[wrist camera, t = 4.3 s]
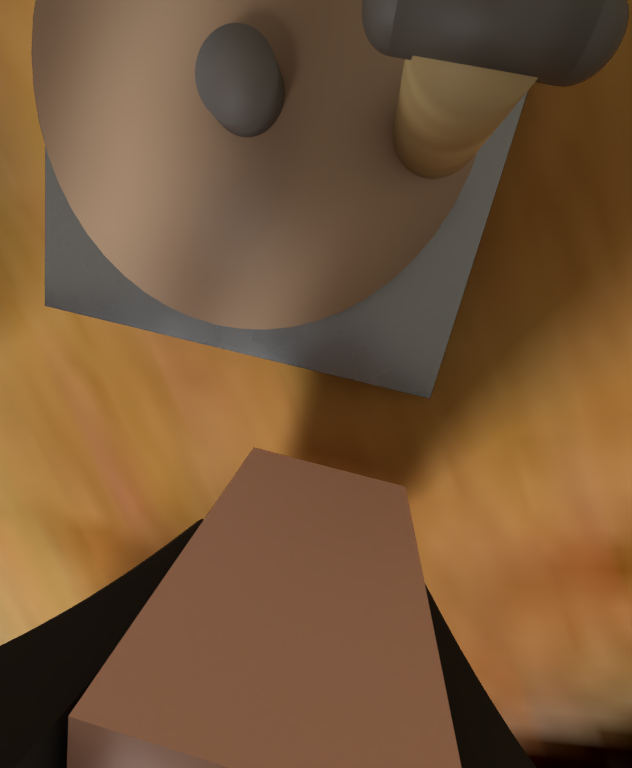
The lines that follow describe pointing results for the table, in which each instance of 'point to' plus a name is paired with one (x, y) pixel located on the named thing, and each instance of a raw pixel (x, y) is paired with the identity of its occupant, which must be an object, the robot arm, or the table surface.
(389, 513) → the block
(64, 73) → the crank
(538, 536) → the table surface
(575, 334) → the table surface
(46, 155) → the crank base
